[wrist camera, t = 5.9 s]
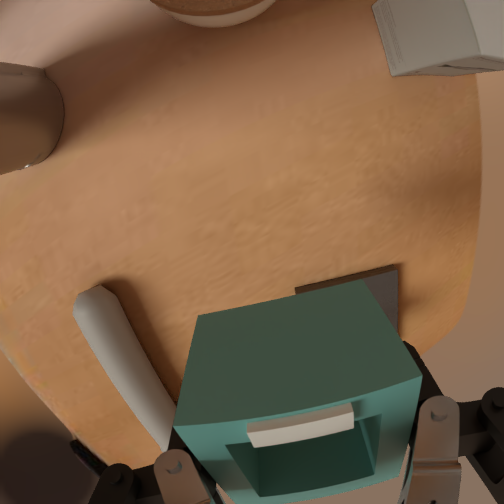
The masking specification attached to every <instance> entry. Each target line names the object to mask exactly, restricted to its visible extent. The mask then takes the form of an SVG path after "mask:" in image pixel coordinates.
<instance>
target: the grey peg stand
mask: <svg viewBox="0 0 504 504" xmlns="http://www.w3.org/2000/svg"><path fill="white" fill-rule="evenodd" d="M359 279H362V280H363V281H364V282H365V284H366V285H367V287H368V288H369V290H370V291H371V293H372V294H373V296H374V297H375V299H376V301H377V302H378V304H379V305H380V307H381V308H382V310H383V311H384V313H385V314H386V316H387V317H388V319H389V321H390V322H391V324H392V325H393V327H394V329H395V330H396V332H397V329H398V270H397V268H396V267H395V266H394V265H393V264H392V265H389V266H385V267H381V268H377V269H373V270H369V271H365V272H361V273H357V274H352V275H348V276H344V277H340V278H336V279H331V280H327V281H323V282H319V283H314V284H310V285H305V286H301V287H296V288H295V293H296V295H297V294H302V293H306V292H310V291H314V290H319V289H323V288H327V287H331V286H335V285H339V284H343V283H347V282H351V281H355V280H359Z"/></svg>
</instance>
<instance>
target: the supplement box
mask: <svg viewBox="0 0 504 504" xmlns="http://www.w3.org/2000/svg"><path fill="white" fill-rule="evenodd" d="M372 10H373V13H374V16H375V19H376V23H377V26H378V29H379V33H380V36H381V39H382V43H383V47H384V50H385V54H386V58H387V62H388V66H389V70H390V73H391V76H393V77H394V76H405V75H442V76H457V75H465V74H474V73H482V72H491V71H501V70H504V0H378V1H377V2H376V3H374V4H373V5H372Z"/></svg>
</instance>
